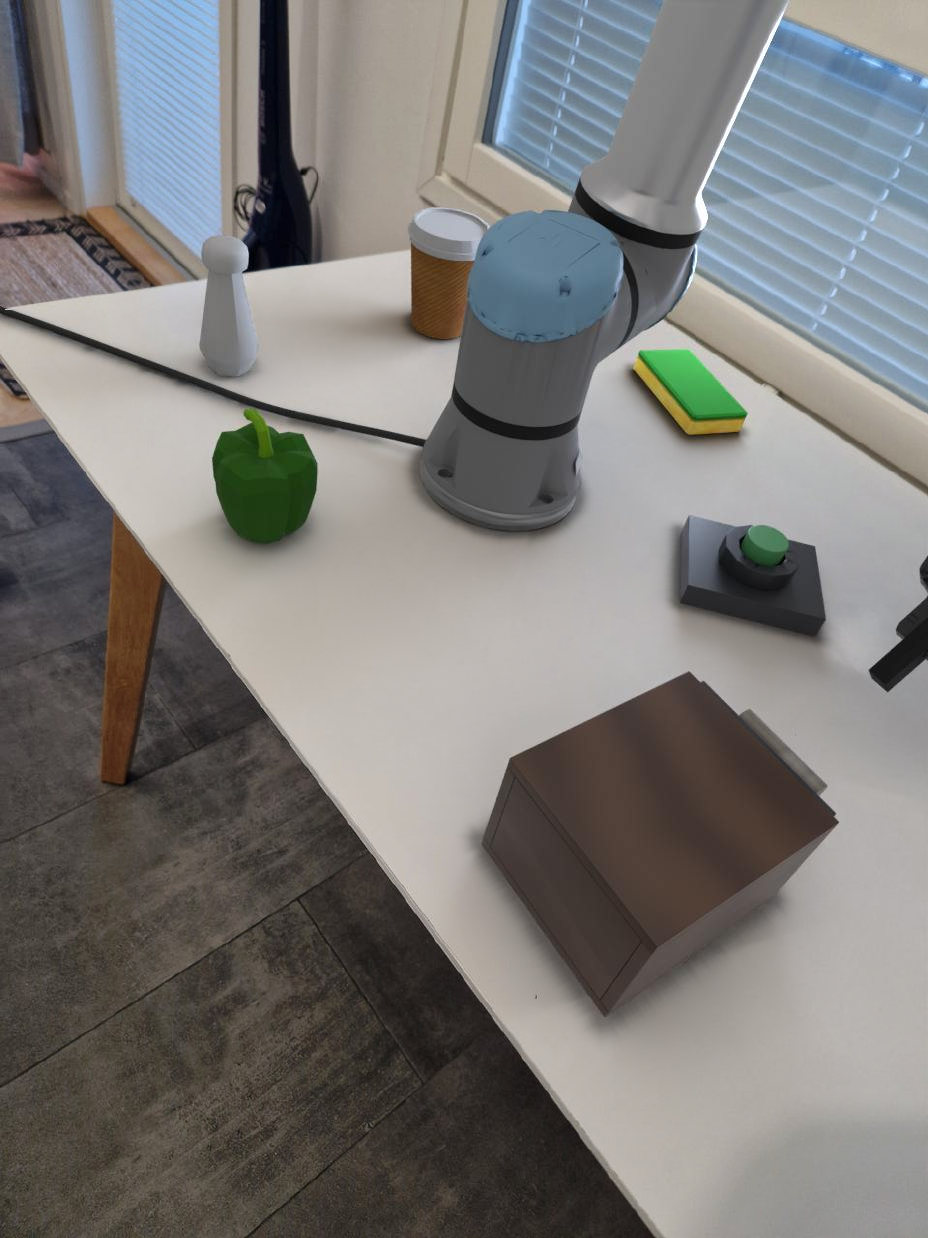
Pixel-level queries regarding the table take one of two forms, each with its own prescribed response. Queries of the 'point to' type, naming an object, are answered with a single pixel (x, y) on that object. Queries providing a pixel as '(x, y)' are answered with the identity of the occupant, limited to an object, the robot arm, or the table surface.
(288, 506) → the bell pepper
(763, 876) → the cabinet
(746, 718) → the drawer
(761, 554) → the button
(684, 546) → the control block
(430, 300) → the disposable coffee cup
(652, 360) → the dish sponge
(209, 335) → the salt shaker
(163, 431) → the table surface
